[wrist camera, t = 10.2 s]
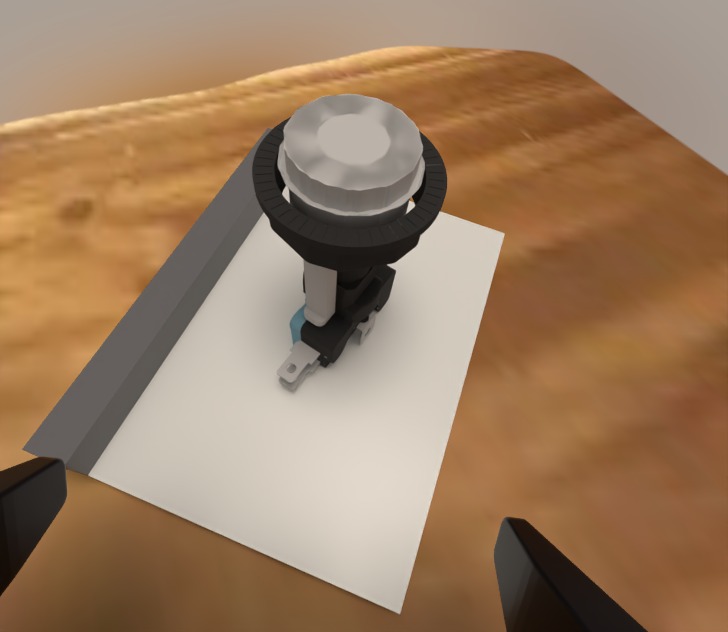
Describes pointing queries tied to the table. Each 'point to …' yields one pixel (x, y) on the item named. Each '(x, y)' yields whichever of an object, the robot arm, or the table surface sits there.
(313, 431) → the marker board
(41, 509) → the robot arm
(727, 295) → the table surface
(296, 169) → the push button
